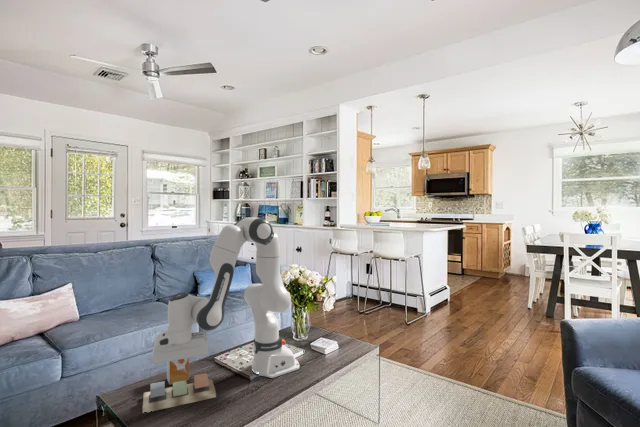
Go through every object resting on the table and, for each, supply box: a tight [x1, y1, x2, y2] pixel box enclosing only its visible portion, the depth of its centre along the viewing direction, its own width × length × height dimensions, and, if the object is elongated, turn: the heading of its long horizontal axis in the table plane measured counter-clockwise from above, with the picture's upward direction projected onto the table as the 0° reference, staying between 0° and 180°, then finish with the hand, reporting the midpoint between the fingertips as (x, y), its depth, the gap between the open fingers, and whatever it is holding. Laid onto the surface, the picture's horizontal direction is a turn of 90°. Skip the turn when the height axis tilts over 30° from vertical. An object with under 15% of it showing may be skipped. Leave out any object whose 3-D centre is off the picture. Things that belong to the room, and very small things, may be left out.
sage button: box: [172, 380, 188, 397], centre depth 137 cm, size 5×5×3 cm
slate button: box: [149, 380, 166, 398], centre depth 134 cm, size 5×5×3 cm
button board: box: [142, 378, 217, 414], centre depth 137 cm, size 26×11×2 cm, turn 115°
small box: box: [166, 358, 190, 385], centre depth 150 cm, size 8×6×13 cm
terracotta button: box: [193, 372, 209, 389], centre depth 140 cm, size 5×5×3 cm
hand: (180, 369), depth 137 cm, fingers closed
